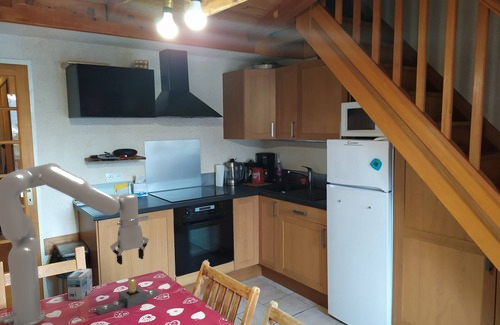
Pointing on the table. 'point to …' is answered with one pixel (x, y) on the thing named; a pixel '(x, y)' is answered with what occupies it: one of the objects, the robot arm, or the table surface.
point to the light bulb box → (79, 284)
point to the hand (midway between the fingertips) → (130, 261)
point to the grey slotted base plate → (127, 300)
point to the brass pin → (132, 286)
